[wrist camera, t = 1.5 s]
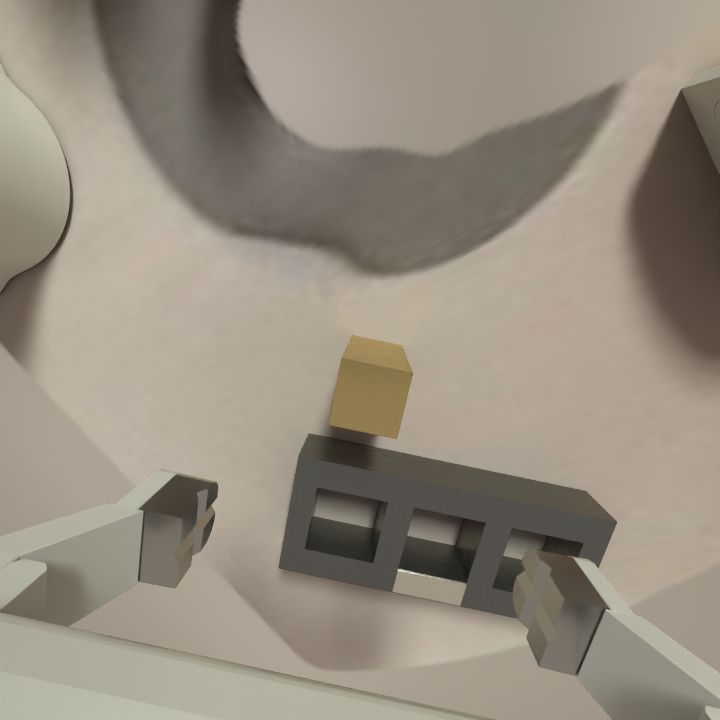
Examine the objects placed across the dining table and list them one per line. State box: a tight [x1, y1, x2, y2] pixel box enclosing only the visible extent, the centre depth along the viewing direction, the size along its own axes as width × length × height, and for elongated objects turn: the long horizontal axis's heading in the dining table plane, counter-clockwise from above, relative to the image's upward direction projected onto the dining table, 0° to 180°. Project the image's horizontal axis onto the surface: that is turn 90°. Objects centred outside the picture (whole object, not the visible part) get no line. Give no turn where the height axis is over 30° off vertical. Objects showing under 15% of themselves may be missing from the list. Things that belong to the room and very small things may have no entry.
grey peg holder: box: [279, 434, 617, 618], centre depth 29 cm, size 24×10×4 cm, turn 79°
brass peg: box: [329, 335, 413, 439], centre depth 24 cm, size 4×4×9 cm
